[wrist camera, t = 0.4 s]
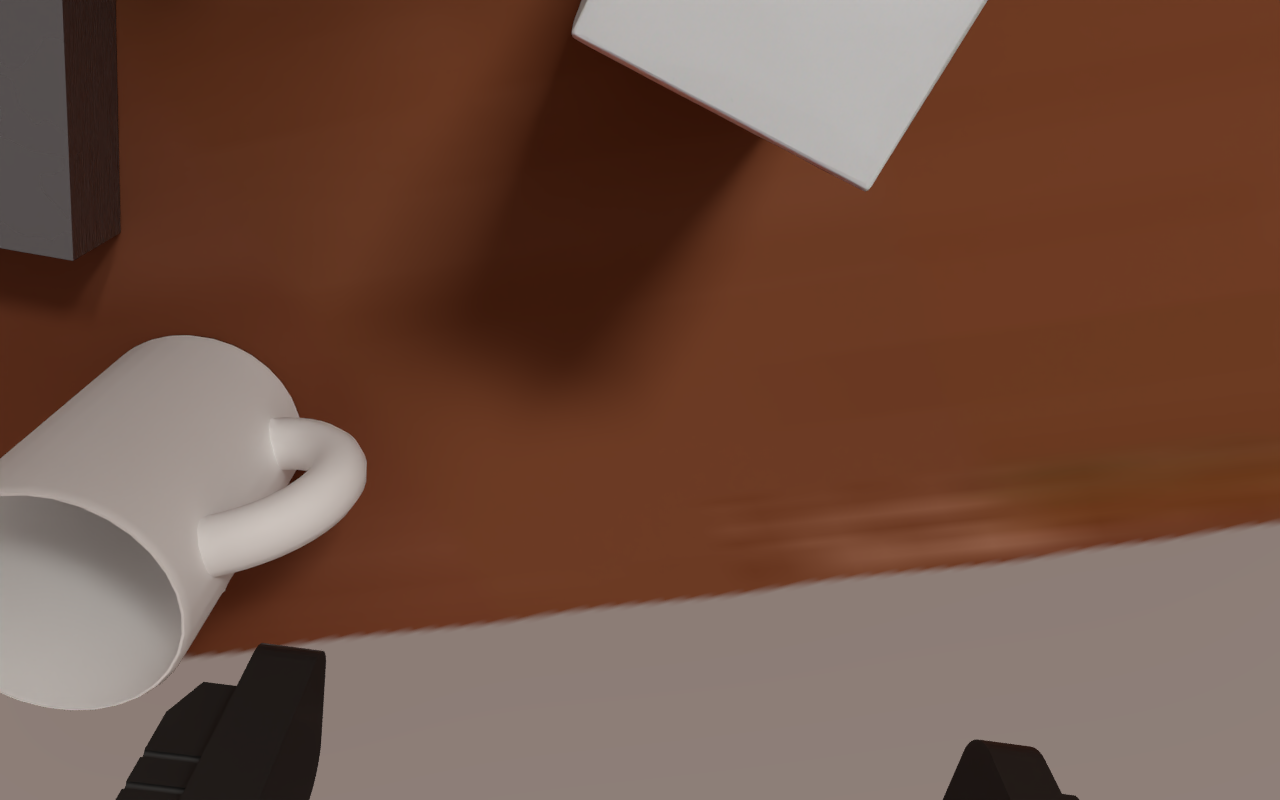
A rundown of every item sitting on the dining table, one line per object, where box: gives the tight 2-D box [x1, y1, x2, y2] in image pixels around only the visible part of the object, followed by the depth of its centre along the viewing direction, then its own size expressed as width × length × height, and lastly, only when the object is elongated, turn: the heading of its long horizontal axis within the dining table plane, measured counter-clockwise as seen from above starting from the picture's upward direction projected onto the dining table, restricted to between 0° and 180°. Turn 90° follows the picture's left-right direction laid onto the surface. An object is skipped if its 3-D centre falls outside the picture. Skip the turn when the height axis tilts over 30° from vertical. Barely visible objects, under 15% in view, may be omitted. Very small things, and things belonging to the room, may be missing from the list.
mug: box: [0, 335, 367, 710], centre depth 35 cm, size 8×12×12 cm
